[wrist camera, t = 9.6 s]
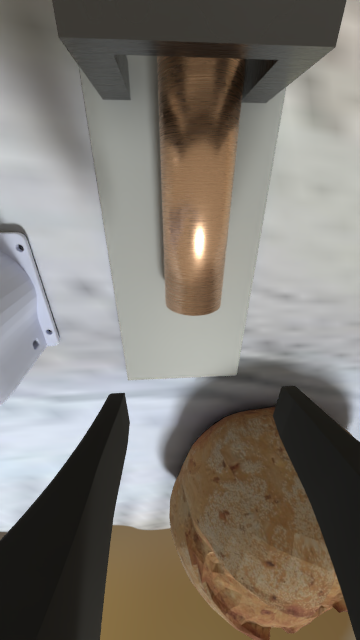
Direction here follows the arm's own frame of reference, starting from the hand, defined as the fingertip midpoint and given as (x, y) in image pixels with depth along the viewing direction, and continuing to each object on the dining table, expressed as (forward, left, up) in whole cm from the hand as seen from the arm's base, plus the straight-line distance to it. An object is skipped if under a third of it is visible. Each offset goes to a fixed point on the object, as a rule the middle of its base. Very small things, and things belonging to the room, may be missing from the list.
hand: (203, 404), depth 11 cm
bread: (-25, -10, -11) cm, 29 cm away
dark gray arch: (+14, 0, -10) cm, 17 cm away
